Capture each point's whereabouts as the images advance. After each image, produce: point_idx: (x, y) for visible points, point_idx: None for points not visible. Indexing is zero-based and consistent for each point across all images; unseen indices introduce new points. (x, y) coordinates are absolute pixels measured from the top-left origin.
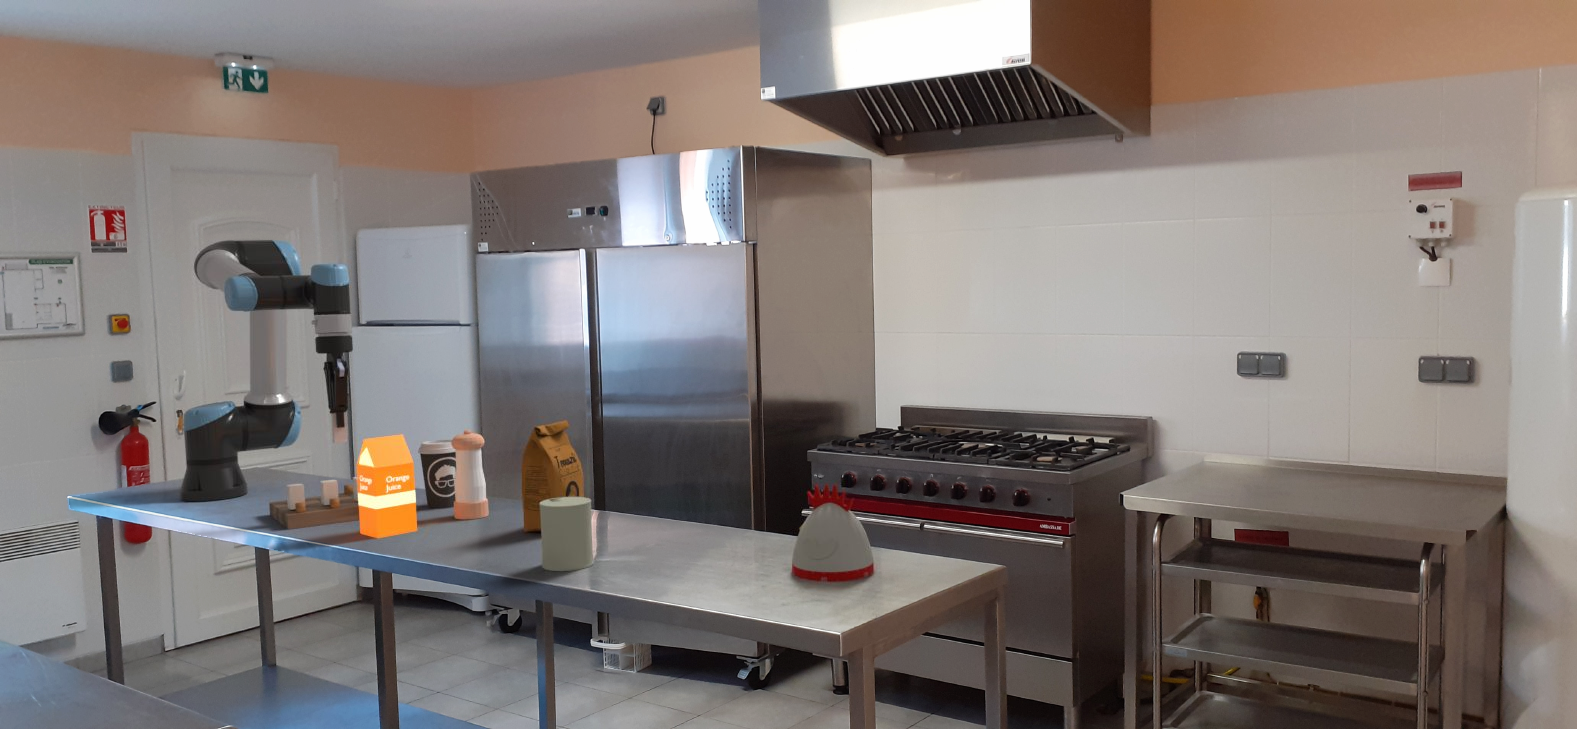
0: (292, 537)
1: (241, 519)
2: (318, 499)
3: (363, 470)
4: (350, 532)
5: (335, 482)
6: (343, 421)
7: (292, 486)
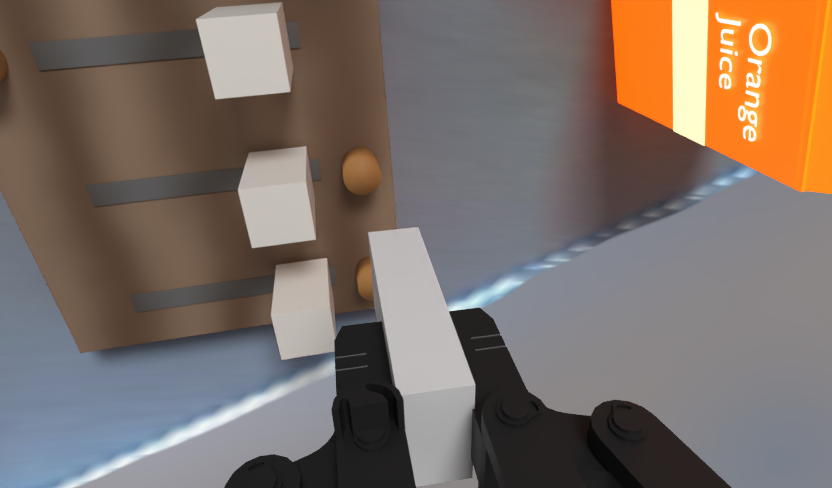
0: (519, 272)
1: (131, 387)
2: (113, 202)
3: None
4: (577, 127)
5: (306, 188)
6: (504, 346)
7: (332, 341)
